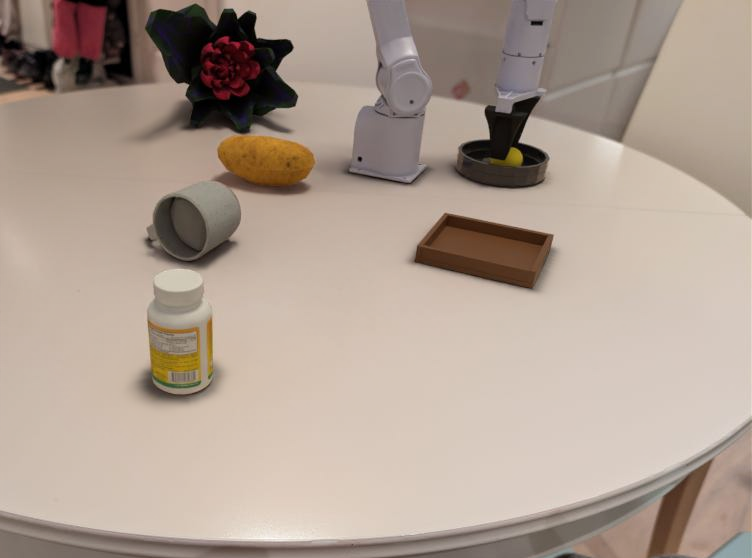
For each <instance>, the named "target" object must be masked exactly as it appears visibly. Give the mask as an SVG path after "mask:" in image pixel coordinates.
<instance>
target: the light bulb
mask: <svg viewBox="0 0 752 558" xmlns="http://www.w3.org/2000/svg"><path fill="white" fill-rule="evenodd" d="M481 162H484V163H488V164H494V165H500V166H512V167H520V166H521V164H522V162H523V156H522V154H521V152H520V151H519V150H518V149H516V148H513V147H511V148H510V151H509V154H508V156H507V158H506V159H505V160H498V159H492V158H484V159H483V160H482V161H481Z"/></svg>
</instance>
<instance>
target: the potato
mask: <svg viewBox="0 0 752 558" xmlns="http://www.w3.org/2000/svg"><path fill="white" fill-rule="evenodd" d="M216 151H217V158H218V159H219V161H220V162H221V164H222V165H223V166H224V168H225V169H226V170H227V171H228V172H230V173H232V174H234V175H236V176H237V177H239V178H241V179H243V180H245V181H247V182H249V183H252V184H255V185H257V186H263V187H265V186H266V187H288V186H293V185H295V184H297V183H298V182H300V181H303V180H304V179H307V178H308V176H309V175H310V173H311V172H312V170H313V169H314V166H315V164H316V159H315V155H314V153H313V152H312V151H311V150H310V149H309V147H307V146H304V145H303V144H301V143H298V142H296V141H291V140H287V139H281V138H278V137H272V136H268V135H248V134H247V135H246V134H237V135H232V136H228V137H227V138H225V139H224V140H222V141H221V142H220V143H219V145H218V147H217V149H216Z"/></svg>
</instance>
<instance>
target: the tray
mask: <svg viewBox="0 0 752 558" xmlns="http://www.w3.org/2000/svg"><path fill="white" fill-rule="evenodd" d="M554 237H555V234H553V233H547V232H542V231H537V230H533V229H529V228H523V227H519V226H513V225H509V224H503V223H498V222H494V221H489V220H483V219H479V218H475V217H474V218H473V217H469V216H464V215H460V214H459V215H458V214H454V213H449V212H444V213H443V214H442V215H441V217H439V219H438V220H437V221H436V222H435V224H434V225H432V227H431V228H430V230H429V231H428V232H427V233H426V234H425V236H424V237H423V238H422V239H421V240H420V241H419V242H418V244H416V249H415V256H414V262H416V263H420V264H424V265H428V266H434V267H437V268H442V269H446V270H451V271H455V272H459V273H464V274H467V275H471V276H476V277H481V278H485V279H489V280H493V281H497V282H503V283H507V284H510V285H515V286H519V287H524V288H529V289H533V287H534V285H535V282H536V281H537V278H538V276H539V274H540V272H541V270H542V268H543V265H544V264H545V262H546V259H547V257H548V255H549V253H550V251H551V249H552V245H553V240H554Z"/></svg>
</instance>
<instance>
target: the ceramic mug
mask: <svg viewBox="0 0 752 558" xmlns="http://www.w3.org/2000/svg"><path fill="white" fill-rule="evenodd" d="M241 220H242V209H241V205H240V201H239V200H238V198H237V196H236V194H235V193H234V191H233V190H232V189H231V188H230V187H229V186H228V185H226V184H224V183H222V182H220V181H217V180H203V181H199V182H196V183H194V184H191V185H189V186H187V187H183V188H180V189H178V190H176V191H172V192H169V193H168V194H165V195H164V196H162V197H161V198H160V199H159V200H158V202H157V203H156V204H155V206H154V209H153V211H152V224H149V225H148V226H146V232H147V235H148V237H149V239H150V240H151V241H156V240H157V241H158V243H159V245H160V246H161V247H162V248H163V249H164V250H165V251H166V252H167V253H168V255H171V256H172V257H174V258H175V259H177V260H181V261H186V262H187V261H188V262H189V261H190V262H191V261H196V260H197V259H200V258H201V257H203V256H204V255H206V254H207V253H208V252H210V251H212V250H213V249H214V248H216V247H217V246H219V245H221V244H222V243H224V242H225V241H227V240H228V239H230V238H231V237H232V236H233V235H234V234H235V232H236V231H237V229H238V228H239V226H240V223H241Z"/></svg>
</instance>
